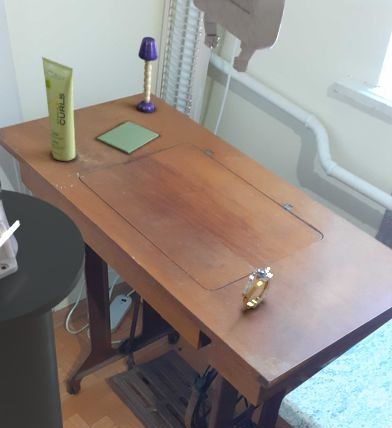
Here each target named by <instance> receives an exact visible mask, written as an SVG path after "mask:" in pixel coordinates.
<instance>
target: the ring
mask: <svg viewBox="0 0 392 428" xmlns="http://www.w3.org/2000/svg"><path fill="white" fill-rule="evenodd" d="M270 269H271V268H270V267H267V268H266V267H264V268H263V267H260V268H259V267H256V268H254V269H253V270H252V272H251V274H250V275H249V278H248V280H247V282H246V284H245V286H244V288H243V291H242V294H241V297H240V303H241V305H242V306H243V307H244V308H245V309H247V310H248V309H254V308H256V307H257V305H259V304H260V303H261V302H262V301H263V300H264V299H265V298H266V296H267V295H268V293H269V292H270V290H271V288H272V286H273V284H274V278H275V277H274V276H275V275H274V274H273V273H271V272H270ZM254 280H257V281H258V282H257V283H256V284H255V285H254V286H253V287H252V288H251V286H252V284H253V282H254ZM263 284H264V286H263V288H262V290H261V292H260V293H259V295H258V296H257V297H256V298H255V299H252V300H250V298H251V297H252V296H253V294H254V293H255V292H256V291H257V290H258V288H259V287H260V286H261V285H263ZM249 300H250V302H249Z"/></svg>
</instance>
